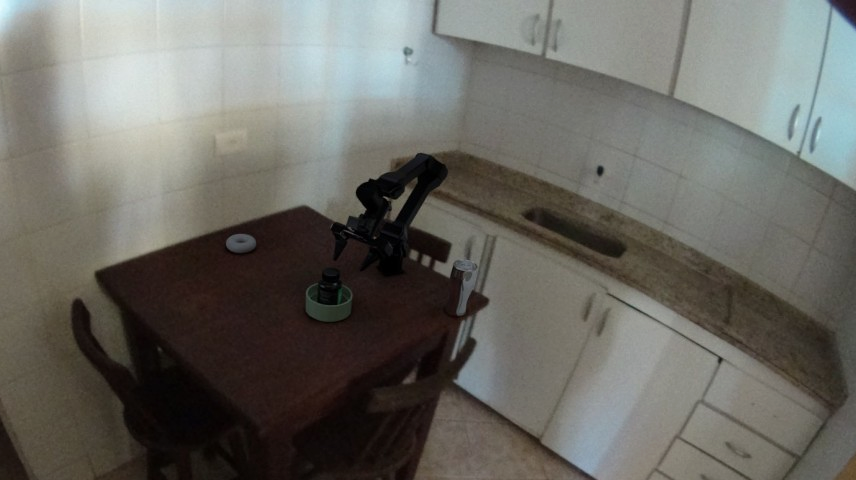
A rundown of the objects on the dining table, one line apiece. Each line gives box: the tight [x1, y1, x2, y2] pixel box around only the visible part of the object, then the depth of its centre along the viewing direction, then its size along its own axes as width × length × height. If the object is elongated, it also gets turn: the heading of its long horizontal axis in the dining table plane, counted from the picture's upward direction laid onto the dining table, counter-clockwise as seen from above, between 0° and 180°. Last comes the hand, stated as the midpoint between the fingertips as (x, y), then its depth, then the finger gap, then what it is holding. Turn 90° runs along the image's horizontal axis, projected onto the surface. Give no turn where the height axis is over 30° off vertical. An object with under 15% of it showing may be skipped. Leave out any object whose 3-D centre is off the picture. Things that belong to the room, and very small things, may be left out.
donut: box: [225, 233, 257, 254], centre depth 202 cm, size 10×4×10 cm
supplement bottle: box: [317, 266, 344, 305], centre depth 170 cm, size 7×7×12 cm
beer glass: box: [444, 259, 479, 318], centre depth 171 cm, size 7×7×15 cm
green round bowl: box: [304, 282, 354, 323], centre depth 173 cm, size 13×13×6 cm
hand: (347, 265), depth 172 cm, fingers open, 9 cm apart
